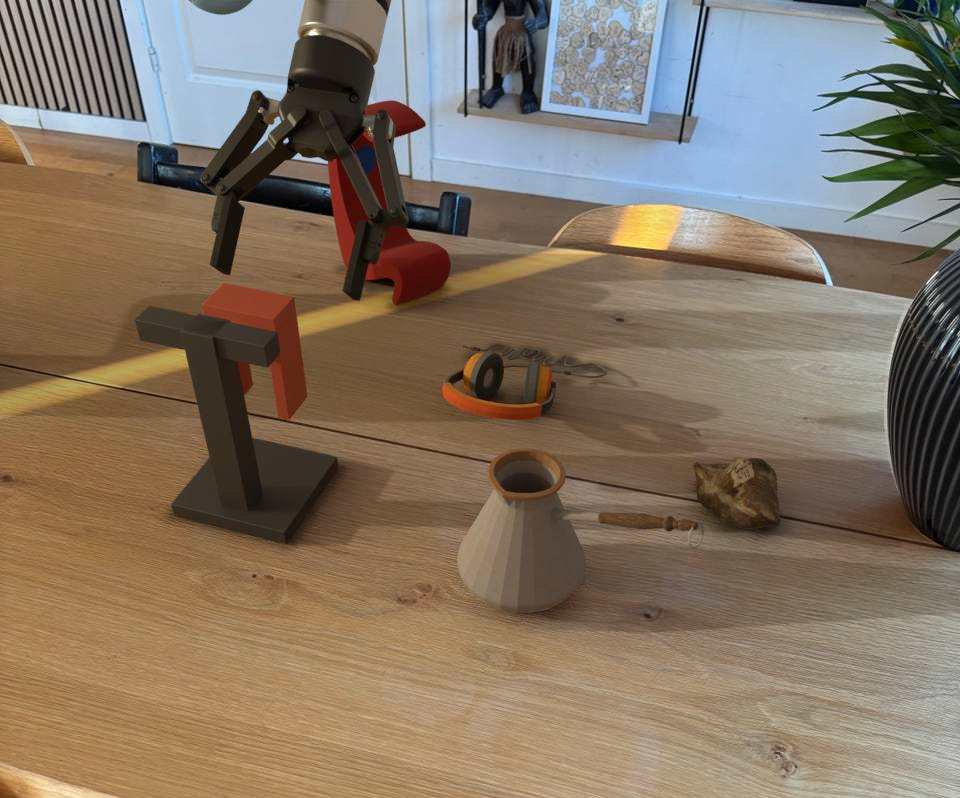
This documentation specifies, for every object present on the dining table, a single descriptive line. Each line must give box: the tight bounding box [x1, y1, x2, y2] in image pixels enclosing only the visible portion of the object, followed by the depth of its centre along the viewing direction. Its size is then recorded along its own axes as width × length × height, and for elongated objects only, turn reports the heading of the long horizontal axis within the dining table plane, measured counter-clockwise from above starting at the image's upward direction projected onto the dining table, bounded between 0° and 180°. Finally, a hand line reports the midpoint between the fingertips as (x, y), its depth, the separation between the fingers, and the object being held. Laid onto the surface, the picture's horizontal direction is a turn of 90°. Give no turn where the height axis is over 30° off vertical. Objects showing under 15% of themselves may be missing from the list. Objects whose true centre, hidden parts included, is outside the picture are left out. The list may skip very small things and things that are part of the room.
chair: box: [327, 99, 452, 306], centre depth 121 cm, size 15×7×20 cm, turn 39°
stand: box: [134, 305, 339, 545], centre depth 93 cm, size 12×12×20 cm
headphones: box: [441, 343, 607, 421], centre depth 110 cm, size 17×5×20 cm
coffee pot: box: [456, 447, 705, 614], centre depth 85 cm, size 21×12×15 cm, turn 55°
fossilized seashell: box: [692, 456, 782, 530], centre depth 98 cm, size 8×7×10 cm
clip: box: [201, 282, 308, 421], centre depth 93 cm, size 7×4×10 cm, turn 71°
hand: (284, 283), depth 95 cm, fingers open, 13 cm apart
